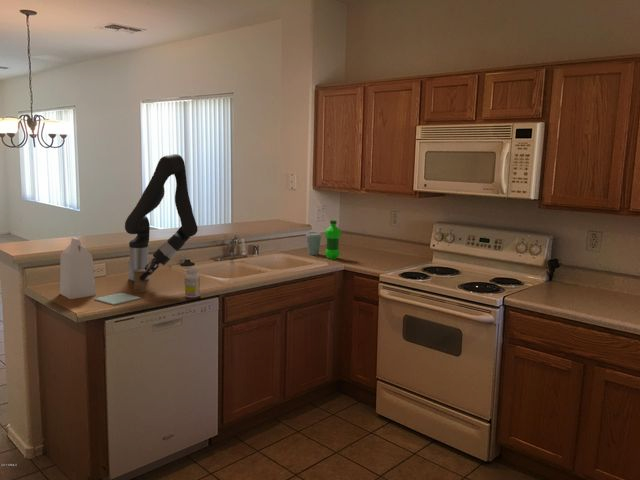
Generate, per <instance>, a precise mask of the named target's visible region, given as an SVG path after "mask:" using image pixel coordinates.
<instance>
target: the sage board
mask: <svg viewBox="0 0 640 480" xmlns="http://www.w3.org/2000/svg"><path fill="white" fill-rule="evenodd" d="M141 298H142V297H139V296H136V295H132V294H128V293H124V292H118V293H114V294H109V295H104V296H100V297H99V296H98V297H96V298H95V297H94V298H93V301H96V302H101V303H104V304H108V305H112V306H116V305H120V304H121V305H122V304H124V303H129V302H133V301H138V300H141Z"/></svg>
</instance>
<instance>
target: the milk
mask: <svg viewBox="0 0 640 480" xmlns="http://www.w3.org/2000/svg"><path fill="white" fill-rule="evenodd" d="M70 242H71V243H70V244H69V245H68V246H67V247H65V249H63V251H62V252H61V253H60V259H59V260H60V261H59V262H60V264H59V265H60V266H59V268H60V269H59V270H60V271H59V282H60V283H59V294H60V295H62V296H63V297H65V298H67V299H69V300H72V299H80V298H85V297H92V296H96V293H97V292H96V282H95V271H94V270H95V269H94V260H93V259H94V258H93V257H94V256H93V255H92V253H91V252H90V251H88V250H87V247H85V246H84V245H83V244H82V243H81V239H79V238H77V237H71V241H70Z"/></svg>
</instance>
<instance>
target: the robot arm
mask: <svg viewBox="0 0 640 480" xmlns="http://www.w3.org/2000/svg"><path fill="white" fill-rule="evenodd" d="M185 165H186V163H185V161H184V159H183V157H182V156H181V155H180V154H176V153H174V154H169V155H164V156H162V157H161V158H160V159H159V160H158V162H157V164H156V167H155V169H154V171H153V174H152V177H151V178H150V181H149V182H148V184H147V186H146V188H145V190H144V191H143V192H142V194H141V197H140V198H139V200H138V202H137V204H136V205H135V207H134V208H133V210H132V211H131V212H130V213H129V215H128V216H127V218H126V219H125V223H124V231H125V232H126V233H127V234H129V235H136V236H135V238H133V239H131V240H130V241H129V242H128V245H129V246H128V247H129V248H128V249H129V250H128V251H129V260H128V280H130V281H133V282H134V270H137V269H145V272H144V273H143V274H142V275H141V276H140V277H139V279H140V280H142V281H143V280H144V279H145V278H146V281H149V279H150V276H151V275H152V274H153V273H154V272H155V271H156V270H157V269H158V268H159V267H160V264H161V265H163V266H165V265H166V264H168V262H169V261H170V260H171V259H172V258H173V257H175V255H176V254H177V253H178V251H180V250H181V249H182V247H183V246H185V244H186V242H188V240H189V239H190V238H191V237H194V236H195V235H196V234H197V232H198V225H197V222H196V218H195V216H194V211H193V207H192V204H191V200H190V195H189V189H188V182H187V170H186V166H185ZM173 175H174V178H175V183H176V184H175V193H174V204H175V208H176V210H177V214H178V217H179V221H180V225H181V226H180V227H179V228H178V229H177V231H176V232H175V233H173V234H172V236H170V237H169V238H168V239H167V240H166V241H165V242H164V243H163V244H161V245H160V246H159V247H158V248H157V249H156V251H154V253H152V257H153V258H152V259H151V260H150V261H149V242H150V230H151V229H150V225H151V224H150V220H149V218H148V216H147V215H148V214H150V213H151V212H153V211H154V210H156V208H158V207H159V205H160V204H161V202H162V200H163V199H164V197H165V184H166V182H167V180H168V179H169V177H171V176H173Z"/></svg>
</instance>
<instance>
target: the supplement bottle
mask: <svg viewBox="0 0 640 480" xmlns="http://www.w3.org/2000/svg"><path fill="white" fill-rule="evenodd" d="M186 273H187V274H186V275H184V295H185V296H184V297H187V298H191V299H192V298H193V299H194V298H198V297H200V295H201V289H200V287H201V286H200V285H201V282H200V280H201V279H200V277H201V276H200V274H198V268H197V267H195V268H194V267H190V268H186Z"/></svg>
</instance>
